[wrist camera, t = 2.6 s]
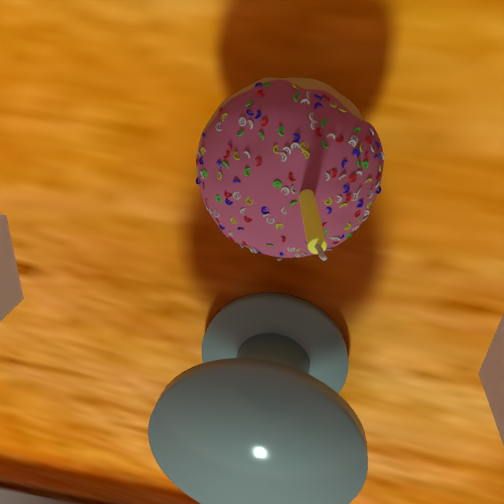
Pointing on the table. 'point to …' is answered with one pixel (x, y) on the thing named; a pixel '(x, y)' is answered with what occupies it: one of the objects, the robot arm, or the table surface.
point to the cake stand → (263, 410)
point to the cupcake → (289, 167)
